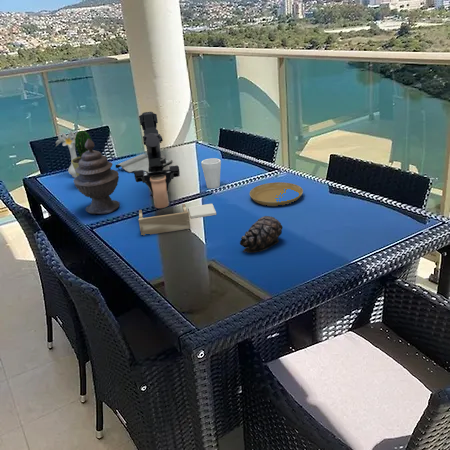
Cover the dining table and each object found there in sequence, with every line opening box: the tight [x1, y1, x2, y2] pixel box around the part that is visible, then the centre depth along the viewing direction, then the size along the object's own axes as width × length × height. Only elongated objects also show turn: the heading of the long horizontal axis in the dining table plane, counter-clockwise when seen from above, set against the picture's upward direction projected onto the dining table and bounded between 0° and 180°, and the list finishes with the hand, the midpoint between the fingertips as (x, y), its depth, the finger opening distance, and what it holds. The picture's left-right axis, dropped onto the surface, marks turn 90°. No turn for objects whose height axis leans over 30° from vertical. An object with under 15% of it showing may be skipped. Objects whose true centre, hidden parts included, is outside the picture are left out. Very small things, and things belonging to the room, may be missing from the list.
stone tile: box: [187, 203, 217, 219], centre depth 210 cm, size 11×11×1 cm
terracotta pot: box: [150, 175, 170, 209], centre depth 201 cm, size 7×7×13 cm
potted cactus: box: [71, 129, 92, 176], centre depth 249 cm, size 15×15×30 cm
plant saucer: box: [249, 181, 304, 207], centre depth 218 cm, size 24×24×3 cm
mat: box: [115, 153, 173, 174], centre depth 277 cm, size 23×24×5 cm
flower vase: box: [55, 130, 88, 178], centre depth 268 cm, size 13×18×25 cm
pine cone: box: [239, 215, 283, 254], centre depth 175 cm, size 10×18×10 cm, turn 140°
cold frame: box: [138, 203, 191, 236], centre depth 201 cm, size 18×20×7 cm
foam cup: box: [200, 157, 222, 189], centre depth 236 cm, size 10×9×13 cm
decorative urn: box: [73, 138, 121, 215], centre depth 215 cm, size 20×20×34 cm
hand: (159, 191), depth 199 cm, fingers closed on terracotta pot, 6 cm apart
